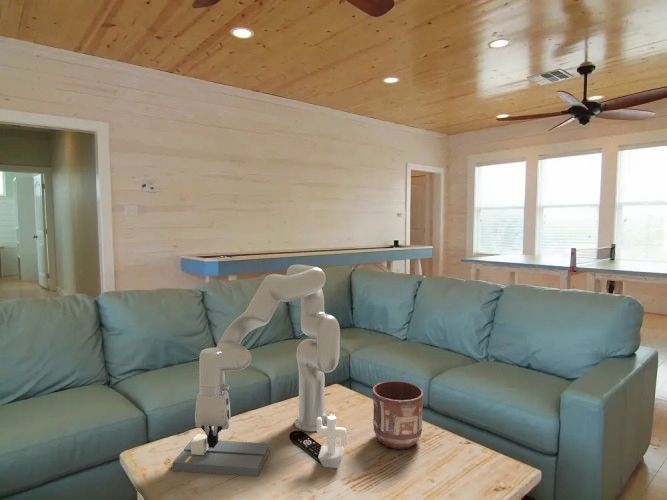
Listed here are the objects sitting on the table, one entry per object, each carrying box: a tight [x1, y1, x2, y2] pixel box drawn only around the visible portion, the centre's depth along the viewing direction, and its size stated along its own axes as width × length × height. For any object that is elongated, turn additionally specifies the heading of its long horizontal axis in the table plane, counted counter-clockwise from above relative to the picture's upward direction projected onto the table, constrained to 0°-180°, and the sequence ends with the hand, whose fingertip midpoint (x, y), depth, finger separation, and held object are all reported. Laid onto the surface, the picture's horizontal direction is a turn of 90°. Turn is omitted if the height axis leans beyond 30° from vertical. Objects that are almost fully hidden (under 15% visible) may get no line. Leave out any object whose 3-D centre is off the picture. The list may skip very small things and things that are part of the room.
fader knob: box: [191, 433, 208, 455], centre depth 132 cm, size 4×5×5 cm
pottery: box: [371, 380, 425, 450], centre depth 143 cm, size 18×18×18 cm
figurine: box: [316, 414, 348, 469], centre depth 129 cm, size 7×9×15 cm
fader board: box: [171, 438, 270, 477], centre depth 131 cm, size 26×14×3 cm, turn 85°
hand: (212, 445), depth 131 cm, fingers closed
